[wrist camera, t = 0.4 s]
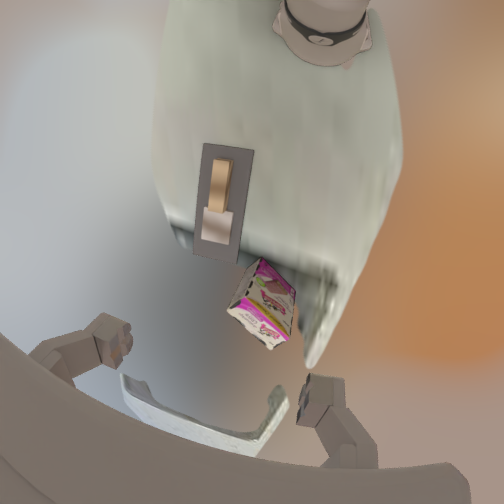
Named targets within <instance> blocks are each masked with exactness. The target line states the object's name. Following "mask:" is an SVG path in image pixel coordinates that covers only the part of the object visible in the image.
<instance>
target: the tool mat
mask: <svg viewBox="0 0 504 504" xmlns="http://www.w3.org/2000/svg"><path fill="white" fill-rule="evenodd" d="M253 155H254V150H249V149H242V148H235V147H228V146H221V145H213V144H205V143H204V144H203V151H202V159H201V168H200V177H199V186H198V196H197V207H196V218H195V230H194V244H193V254H194V255H198V256H203V257H207V258H211V259H215V260H220V261H224V262H228V263H232V264H237V260H238V253H239V246H240V239H241V233H242V226H243V219H244V213H245V206H246V199H247V193H248V186H249V180H250V174H251V167H252V161H253ZM217 158H221V159H228V160H234V161H233V168H232V175H231V183H230V190H229V197H228V205H227V210H231V211H234V216H233V223H232V230H231V238H230V244H229V245H226V244H222V243H217V242H213V241H208V240H204V239H201V234H202V223H203V213H204V207H205V206H208V203H209V194H210V185H211V177H212V169H213V161H214V159H217Z"/></svg>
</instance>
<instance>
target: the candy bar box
mask: <svg viewBox="0 0 504 504" xmlns="http://www.w3.org/2000/svg"><path fill="white" fill-rule="evenodd" d="M295 294H296V291H295V290H294V289H293V288H292V287H291V286H290V285H289V284H288V283H287V282H286V281H285V280H284V279H283V278H282V277H281V276H280V275H279V274H278V273H277V272H276V271H275V270H274V269H273V268H272V267H271V266H270V265H269V264H268V263H267V262H266V261H265V260H264V259H263V258H262V257H261V258H260V259H258V260H257V261H256V262H255V263H254V264H252V265H251V266H250V267H248V268H247V269H246V271H245V273H244V276H243V277H242V280H241V282H240V284H239V286H238V288H237V290H236V292H235V294H234V296H233V298H232V300H231V302H230V304H229V306H228V308H227V311H228V313H229V314H231V315H232V316H233V317H234V318H235V319H236V320H237V321H238V322H239V323H240V324H241V325H243V326H244V327H245V328H246V329H247V330H248V331H249V332H250V333H252V334H253V335H254V336H255V337H256V338H257V339H258V340H259V341H260V342H262V343H263V344H264V345H265V346H266V347H267V348H268V349H270V350H272V349H273V348H275V347H277V346H278V345H280V344H281V343H282V342H286V341H287V340H288V339H290V335H291V326H292V318H293V310H294V302H295Z"/></svg>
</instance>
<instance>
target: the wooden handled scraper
mask: <svg viewBox="0 0 504 504" xmlns="http://www.w3.org/2000/svg"><path fill="white" fill-rule="evenodd" d="M233 161H234V160H228V159H221V158H217V159H214V161H213V169H212V177H211V185H210V194H209V203H208V206H205V207H204V213H203V223H202V234H201V239H204V240H208V241H213V242H217V243H222V244H226V245H229V244H230V238H231V230H232V223H233V216H234V211H231V210H227V205H228V197H229V190H230V183H231V175H232V168H233Z"/></svg>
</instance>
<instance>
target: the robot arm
mask: <svg viewBox="0 0 504 504" xmlns="http://www.w3.org/2000/svg"><path fill="white" fill-rule="evenodd" d="M369 1H370V0H284V1H283V2H281V3H280V9H279V12H278V14H277V16H276V18H275V20H274V22H273V25H272V29H273V31H274V32H275V33H277V34H278V35H279V36H281V37H282V38H283V39H284V40H285V41H286V43H287V45H288V47H289V48H290V49H291V51H292V52H293V53H294V54H295V55H297V56H298V57H299V58H301V59H303V60H304V61H306V62H309V63H312V64H315V65H320V66H335V65H339V64H342V63H345V62H347V61H348V60H350V59H351V58H352V57H353V56H355V55H356V54H357V53H359V52H363V51H367V50H369V49H370V48H371V46H372V40H371V33H370V26H369V20H368V14H367V9H366V8H367V5H368V3H369ZM366 39H367V40H366ZM130 331H131V325H130V324H129V323H127V322H125V321H123V320H120V319H118V318H116V317H113V316H111V315H108V314H106V313H101V314H100V315H99V316H98V317H97V318H96V319H94V321H92V322H91V323H90V324H89V325H88V326H87V327H86V328H85V329H84V330H83V331H82V330H79V331H75V332H72V333H69V334H65V335H62V336H58V337H55V338H51V339H48V340H44V341H42V342H41V343H40V344H39V345H38V346H37V347H36V348H35V349H34V350H33V351H32V352H31V353H30V354H28V355H27V354H25V353H24V352H23V351H22V350H20V349H19V348H18V347H17V346H15V345H14V344H13V343H12V342H11V341H9V340H8V339H7V338H6V337H5V336H3V335H2V334H1V333H0V504H471V493H470V487H469V483H468V481H467V479H466V478H465V477H464V476H463V475H462V474H461V473H460V471H459V470H457V469H456V468H455V467H454V466H453V465H452V464H451V463H447V462H445V463H437V464H430V465H422V466H413V467H402V468H387V469H386V468H385V469H378V453H377V444H376V443H375V442H374V440H373V439H372V438H371V436H370V435H369V434H368V432H367V431H366V430H365V429H364V427H363V426H362V425H361V423H360V422H359V421H358V420H357V418H356V417H355V416H354V414H353V413H352V411H351V410H350V409H349V408H346V402H345V383H344V379H343V378H339V377H331V376H326V375H320V374H313V373H309V374H308V376H307V379H306V384H304V385H303V387H302V390H301V393H300V397H299V403H298V405H299V406H300V409H299V410H298V413H297V421H296V425H300V426H306V427H312V428H315V430H316V432H317V434H318V436H319V438H320V440H321V442H322V444H323V446H324V448H325V450H326V452H327V453H328V455H329V457H330V458H328V459H327V460H326V462H324V464H322V465H321V466H320V467H313V466H304V465H295V464H288V463H281V462H275V461H269V460H264V459H258V458H254V457H249V456H245V455H240V454H236V453H232V452H228V451H224V450H220V449H217V448H213V447H210V446H206V445H203V444H200V443H197V442H194V441H191V440H188V439H185V438H182V437H179V436H176V435H173V434H171V433H168V432H165V431H163V430H160V429H158V428H155V427H153V426H150V425H148V424H145V423H143V422H141V421H138V420H136V419H134V418H132V417H129V416H127V415H125V414H123V413H121V412H119V411H117V410H115V409H113V408H111V407H109V406H107V405H105V404H103V403H101V402H99V401H97V400H96V399H94V398H92V397H90V396H89V395H87V394H85V393H83V392H81V391H80V390H78V389H76V387H75V384H74V382H73V380H72V378H74V377H76V376H78V375H81V374H83V373H84V372H87V371H89V370H91V369H93V368H95V367H97V366H99V365H101V363H102V364H104V365H106V366H109V367H111V368H113V369H117V368H118V366H119V365H120V364H121V362H122V361H123V356H125V355H128V353H129V352H130V351H131V348H132V345H133V337H132V335H131V334H130Z"/></svg>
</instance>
